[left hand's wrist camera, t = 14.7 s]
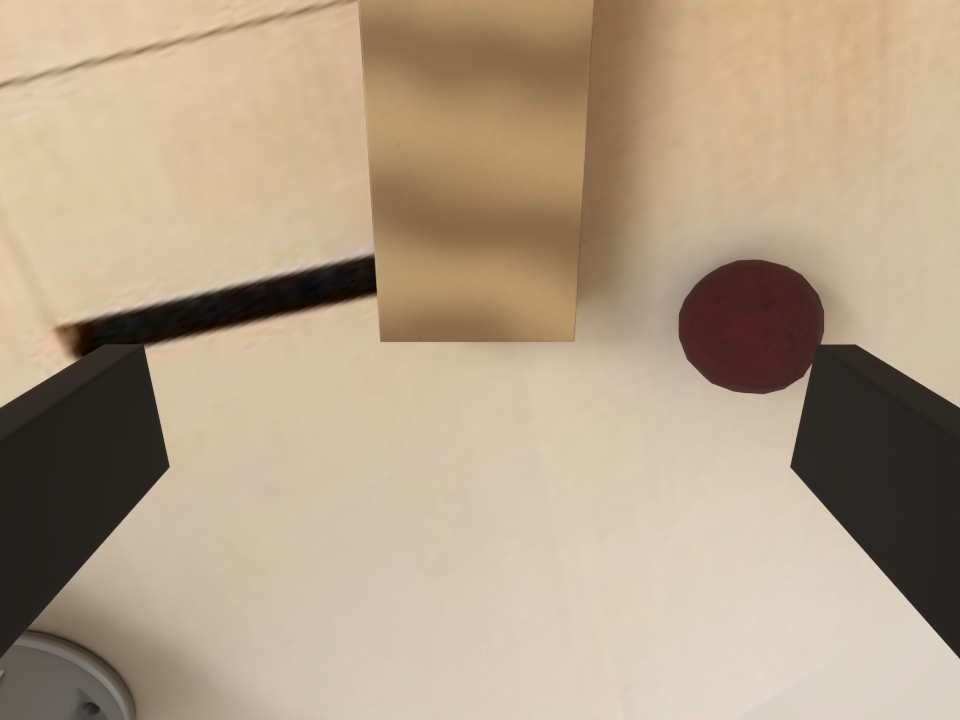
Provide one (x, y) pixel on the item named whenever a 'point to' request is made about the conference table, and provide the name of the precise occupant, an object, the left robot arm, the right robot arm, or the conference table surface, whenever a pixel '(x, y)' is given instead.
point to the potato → (751, 326)
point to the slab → (476, 165)
